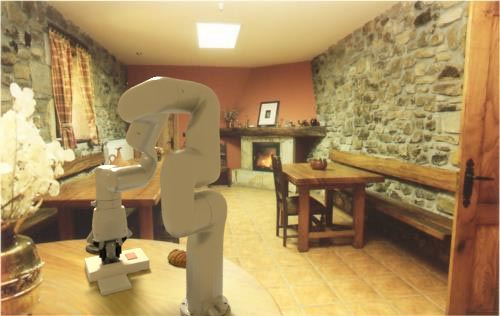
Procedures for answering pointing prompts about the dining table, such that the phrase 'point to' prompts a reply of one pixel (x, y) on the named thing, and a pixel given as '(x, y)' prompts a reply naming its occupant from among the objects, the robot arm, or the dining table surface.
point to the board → (116, 265)
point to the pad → (114, 284)
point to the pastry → (177, 257)
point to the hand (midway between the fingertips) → (110, 257)
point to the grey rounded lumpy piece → (92, 249)
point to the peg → (110, 251)
